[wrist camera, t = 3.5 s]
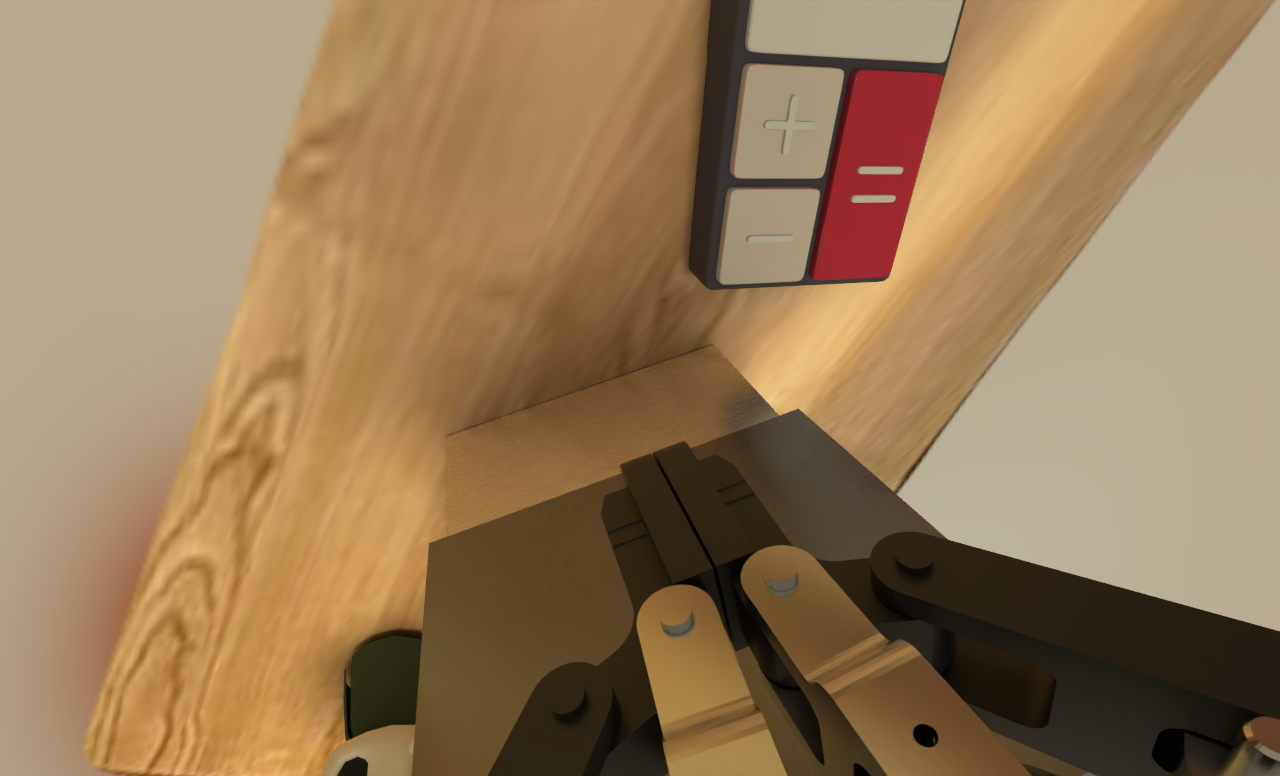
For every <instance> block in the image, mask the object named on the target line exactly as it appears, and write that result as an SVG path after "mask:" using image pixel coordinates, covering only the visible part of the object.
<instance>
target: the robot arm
mask: <svg viewBox="0 0 1280 776" xmlns="http://www.w3.org/2000/svg"><path fill="white" fill-rule="evenodd" d="M619 465H620V470H621V473H622V476H623V479H624V483H625V486H626V488H624V489H621V490H618V491H615V492H613V493H610V494H607V495H605V496H604V501H603V506H602V510H601V517H602V520H603V523H604V526H605V529H606V531H607V534H608V537H609V540H610V543H611V546H612V549H613V551H614V554H615V557H616V560H617V563H618V566H619V569H620V571H621V574H622V577H623V580H624V583H625V586H626V588H627V591H628V594H629V597H630V600H631V603H632V605H633V610H634V619H633V625H632V628H631V631H630V633H629V635H628V637H627V638H626V640H625V641H624V643H623V644H622V645H621V646H620V647H619V648H618V649H617V650H616V651H615V652H614V653H613V654H612V655H610V656H609V657H608V658H607V659H605V660H604V661H603V662H601V663H600V664H599V665H598V666H595V665H593V664H590V663H586V662H572V663H567V664H564V665H561V666H559V667H557V668H555V669H553V670H552V671H551V672H549V673H548V674H547V675H545V676H544V677H543V678H542V679H541V680H540V681H539V683H538V684H537V685H536V687H535V688H534V690H533V691H532V693H531V695H530V697H529V699H528V701H527V703H526V704H525V706H524V708H523V710H522V712H521V714H520V716H519V718H518V719H517V721H516V723H515V725H514V727H513V729H512V731H511V733H510V734H509V736H508V738H507V740H506V742H505V744H504V746H503V748H502V750H501V751H500V753H499V755H498V757H497V759H496V761H495V763H494V765H493V766H492V768H491V770H490V772H489V774H488V776H665V775H666V774H668V773H669V774H670V776H787V774H786V771H785V769H784V766H783V764H782V761H781V759H780V756H779V754H778V751H777V749H776V746H775V744H774V741H773V739H772V736H771V734H770V731H769V729H768V726H767V724H766V722H765V719H764V717H763V715H762V713H761V711H760V709H759V707H756V706H755V704H754V701H753V699H752V697H751V694H750V692H749V689H748V687H747V684H746V681H745V679H744V676H743V674H742V671H741V669H740V666H739V664H738V661H737V659H736V656H735V654H734V651H733V648H732V646H731V643H730V640H731V642H732V644H733V646H734V648H735V650H736V651H739V650H741V649H744V648H746V647H748V646H749V647H750V649H751V651H752V653H753V655H754V657H755V659H756V661H757V662H758V666H759V671H760V676H761V679H762V682H763V684H764V686H765V688H766V690H767V691H768V693H769V695H770V696H771V698H772V700H773V701H774V703H775V704H776V706H777V708H778V709H779V711H780V713H781V714H782V716H783V717H784V719H785V721H786V722H787V724H788V726H789V727H790V729H791V730H792V732H793V734H794V735H795V737H796V739H797V740H798V742H799V743H800V745H801V747H802V748H803V750H804V752H805V753H806V755H807V756H808V758H809V760H810V761H811V763H812V765H813V766H814V768H815V769H816V771H817V773H818V775H819V776H1057V775H1055V774H1053V773H1050V772H1048V771H1045V770H1042V769H1039V768H1036V767H1033V766H1030V765H1027V764H1023V763H1020V762H1019V761H1018V760H1017V759H1016V758H1015V756H1014V755H1013V754H1012V753H1011V752H1010V751H1009V750H1008V749H1007V748H1006V747H1005V745H1004V744H1003V743H1002V742H1001V741H1000V740H999V739H998V738H997V737H996V736H995V735H994V733H993V732H995V733H997V734H1000V735H1002V736H1005V737H1007V738H1009V739H1012V740H1014V741H1016V742H1019V743H1021V744H1023V745H1026V746H1028V747H1030V748H1033V749H1035V750H1037V751H1040V752H1042V753H1045V754H1047V755H1049V756H1052V757H1054V758H1056V759H1059V760H1061V761H1063V762H1066V763H1068V764H1070V765H1073V766H1075V767H1077V768H1080V769H1082V770H1084V771H1087V772H1089V773H1092V774H1094V775H1096V776H1280V631H1276V630H1273V629H1269V628H1265V627H1262V626H1258V625H1254V624H1251V623H1247V622H1244V621H1240V620H1236V619H1233V618H1229V617H1225V616H1222V615H1218V614H1215V613H1211V612H1207V611H1204V610H1200V609H1196V608H1193V607H1189V606H1186V605H1182V604H1178V603H1174V602H1171V601H1167V600H1164V599H1160V598H1157V597H1153V596H1149V595H1146V594H1142V593H1139V592H1135V591H1131V590H1128V589H1124V588H1120V587H1116V586H1113V585H1109V584H1106V583H1102V582H1098V581H1095V580H1091V579H1088V578H1084V577H1080V576H1077V575H1073V574H1070V573H1066V572H1062V571H1059V570H1055V569H1051V568H1048V567H1044V566H1041V565H1037V564H1033V563H1030V562H1026V561H1022V560H1019V559H1015V558H1012V557H1008V556H1005V555H1001V554H997V553H994V552H990V551H986V550H983V549H979V548H976V547H972V546H968V545H965V544H961V543H957V542H954V541H950V540H947V539H943V538H939V537H936V536H932V535H928V534H924V533H920V532H898V533H894V534H891V535H888V536H886V537H884V538H883V539H881V540H880V541H878V543H877V544H876V545H875V546H874V547H873V549H872V552H871V555H870V558H864V559H854V560H844V561H826V560H820V559H816V558H814V557H813V556H812V555H810V554H809V553H807V552H806V551H804V550H802V549H800V548H797V547H794V546H793V545H792V544H791V543H790V541H789V540H788V539H787V537H786V536H785V534H784V533H783V532H782V530H781V529H780V527H779V526H778V525H777V523H776V522H775V520H774V519H773V518H772V516H771V515H770V514H769V512H768V511H767V509H766V508H765V507H764V505H763V504H762V502H761V501H760V500H759V498H758V497H757V496H756V495H755V493H754V491H753V490H752V488H751V487H750V486H749V484H748V483H746V480H745V479H744V477H743V476H742V474H741V473H740V472H739V470H738V469H737V467H736V466H735V465H734V464H733V463H731V462H729V461H727V460H725V459H723V458H722V457H720V456H718V455H716V454H715V455H712V456H709V457H707V458H704V459H701V460H699V461H698V460H697V458H696V457H695V455H694V453H693V452H692V450H691V449H690V447H689V446H688V444H687V443H686V441H682V442H679V443H677V444H674V445H671V446H668V447H666V448H663V449H660V450H657V451H655V452H653V455H652V454H651V453H650V454H647V455H644V456H641V457H639V458H636V459H633V460H630V461H628V462H625V463H622V464H619ZM729 638H730V639H729ZM992 731H993V732H992Z"/></svg>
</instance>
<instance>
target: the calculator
mask: <svg viewBox="0 0 1280 776" xmlns="http://www.w3.org/2000/svg"><path fill="white" fill-rule="evenodd" d="M965 1H966V0H711V10H710V22H709V33H708V47H707V48H708V69H707V79H706V88H705V98H704V108H703V117H702V127H701V137H700V146H699V156H698V166H697V175H696V187H695V198H694V209H693V221H692V232H691V244H690V255H689V269H690V270H691V272H692V273H693V274H694V275H695V276H696V277H697V278H698V279H699V280H700V281H701V282H702V283H703V284H704V285H705V286H706V287H707V288H708V289H711V290H718V289H739V288H759V287H779V286H800V285H820V284H841V283H861V282H880V281H884V280H886V279H887V278H888V277H889V275H890V272H891V269H892V266H893V262H894V258H895V255H896V251H897V247H898V244H899V240H900V237H901V233H902V229H903V226H904V222H905V218H906V215H907V211H908V207H909V204H910V200H911V197H912V193H913V189H914V186H915V182H916V178H917V175H918V171H919V168H920V164H921V160H922V157H923V153H924V149H925V146H926V142H927V138H928V135H929V131H930V128H931V124H932V120H933V117H934V113H935V109H936V106H937V102H938V99H939V95H940V91H941V88H942V84H943V80H944V77H945V73H946V69H947V66H948V62H949V59H950V55H951V51H952V48H953V44H954V40H955V37H956V33H957V30H958V26H959V22H960V19H961V15H962V11H963V8H964V4H965Z"/></svg>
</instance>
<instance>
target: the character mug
mask: <svg viewBox="0 0 1280 776" xmlns="http://www.w3.org/2000/svg"><path fill="white" fill-rule="evenodd" d="M421 644H422V640H420V639H415V638H409V637H403V636H397V635H395V636H391V637H387V638H383V639H379V640H375V641H372V642H370V643H369V644H367V645H366V646H364V647H363V648H361V649H360V650H358V651H357V652H355V653H354V655H353V657H352V672H351V688H350V687H349V686H348V685H347V683H346V670H347V667H346V668H345V670H344V718H345V736H346V742H345V743H343V744H342V745H340V746H339V747H337V748H336V749H334V750H333V752H332V753H331V754H330V755H329V756H328V759H327V761H326V764H325V766H324V769H323V771H322V775H321V776H411V775H412V762H413V749H414V736H415V723H416V710H417V696H418V683H419V670H420V657H421Z"/></svg>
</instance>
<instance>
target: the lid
mask: <svg viewBox="0 0 1280 776" xmlns="http://www.w3.org/2000/svg"><path fill="white" fill-rule="evenodd" d="M690 449H691V450H692V452H693V453H694V455H695V457H696V458H697V460H698V461H699V460H701V459H704V458H707V457H709V456H712V455H715V454H716V455H718V456H720V457H722V458H723V459H725V460H727V461H729V462H731V463H733V464H734V465H735V466H736V467H737V469H738V470H739V472H740V473H741V474H742V476H743V477H744V479H745V480H746V483H748V484H749V486H750V487H751V488H752V490H753V491H754V493H755V495H756V496H757V497H758V498H759V500H760V501H761V502H762V504H763V505H764V507H765V508H766V509H767V511H768V512H769V514H770V515H771V516H772V518H773V519H774V520H775V522H776V523H777V525H778V526H779V527H780V529H781V530H782V532H783V533H784V534H785V536H786V537H787V539H788V540H789V541H790V543H791V544H792V545H793V546H794V547H797V548H800V549H802V550H804V551H806V552H807V553H809V554H810V555H812V556H813V557H814V558H816V559H820V560H826V561H844V560H854V559H864V558H870V555H871V552H872V549H873V547H874V546H875V545H876V544H877V543H878V541H880V540H881V539H883V538H884V537H886V536H888V535H891V534H894V533H898V532H920V533H924V534H928V535H932V536H936V537H939V538H943V539H947V538H945V537H944V536H943V535H942V534H941V533H940V532H939V531H938V530H936V529H935V528H934V527H933V526H932V525H931V524H929V523H928V522H927V521H926V520H925V519H924V518H923V517H922V516H920V515H919V514H918V513H917V512H916V511H914V509H912V508H911V507H910V506H909V505H908V504H907V503H906V502H904V501H903V500H902V499H901V498H900V497H899V496H898V495H896V494H895V493H894V492H893V491H892V490H891V489H890V488H888V487H887V486H886V485H885V484H884V483H883V482H882V481H880V480H879V479H878V478H877V477H876V476H875V475H874V474H872V473H871V472H870V471H869V470H868V469H867V468H866V467H864V466H863V465H862V464H861V463H860V462H859V461H858V460H856V459H855V458H854V457H853V456H852V455H851V454H850V453H848V452H847V451H846V450H845V449H844V448H843V447H842V446H840V445H839V444H838V443H837V442H836V441H835V440H834V439H832V438H831V437H830V436H829V435H828V434H827V433H826V432H824V431H823V430H822V429H821V428H820V427H819V426H818V425H816V424H815V423H814V422H813V421H812V420H811V419H810V418H808V417H807V416H806V415H805V414H804V413H803V412H802V411H800V410H799V409H797V410H794V411H791V412H788V413H786V414H783V415H780V416H777V417H775V418H772V419H769V420H766V421H764V422H761V423H758V424H755V425H753V426H750V427H747V428H745V429H742V430H739V431H736V432H734V433H731V434H728V435H725V436H723V437H720V438H717V439H714V440H712V441H709V442H706V443H703V444H701V445H698V446H695V447H692V448H690ZM624 488H626V486H625V483H624V479H623V476H622V473H621V474H618V475H615V476H613V477H610V478H607V479H604V480H602V481H599V482H596V483H593V484H591V485H588V486H585V487H582V488H580V489H577V490H574V491H571V492H569V493H566V494H563V495H560V496H558V497H555V498H552V499H549V500H547V501H544V502H541V503H538V504H536V505H533V506H530V507H527V508H525V509H522V510H519V511H516V512H514V513H511V514H508V515H505V516H503V517H500V518H497V519H494V520H492V521H489V522H486V523H483V524H481V525H478V526H475V527H472V528H470V529H467V530H464V531H461V532H459V533H456V534H453V535H450V536H448V537H445V538H442V539H439V540H437V541H434V542H431V543H429V552H428V565H427V578H426V592H425V605H424V618H423V631H422V644H421V657H420V670H419V683H418V696H417V710H416V723H415V736H414V749H413V762H412V775H411V776H488V774H489V772H490V770H491V768H492V766H493V765H494V763H495V761H496V759H497V757H498V755H499V753H500V751H501V750H502V748H503V746H504V744H505V742H506V740H507V738H508V736H509V734H510V733H511V731H512V729H513V727H514V725H515V723H516V721H517V719H518V718H519V716H520V714H521V712H522V710H523V708H524V706H525V704H526V703H527V701H528V699H529V697H530V695H531V693H532V691H533V690H534V688H535V687H536V685H537V684H538V683H539V681H540V680H541V679H542V678H543V677H544V676H545V675H547V674H548V673H549V672H551V671H552V670H553V669H555V668H557V667H559V666H561V665H564V664H567V663H572V662H586V663H590V664H593V665H595V666H598V665H599V664H600V663H601V662H603V661H604V660H605V659H607V658H608V657H609V656H610V655H612V654H613V653H614V652H615V651H616V650H617V649H618V648H619V647H620V646H621V645H622V644H623V643H624V641H625V640H626V638H627V637H628V635H629V633H630V631H631V628H632V625H633V619H634V610H633V605H632V603H631V600H630V597H629V594H628V591H627V588H626V586H625V583H624V580H623V577H622V574H621V571H620V569H619V566H618V563H617V560H616V557H615V554H614V551H613V549H612V546H611V543H610V540H609V537H608V534H607V531H606V529H605V526H604V523H603V520H602V517H601V510H602V506H603V501H604V496H605V495H607V494H610V493H613V492H615V491H618V490H621V489H624ZM947 540H948V539H947ZM729 639H730V638H729ZM730 643H731V646H732V648H733V651H734V654H735V656H736V659H737V661H738V664H739V666H740V669H741V671H742V674H743V676H744V679H745V681H746V684H747V687H748V689H749V692H750V694H751V697H752V699H753V701H754V704H755V706H756V707H759V709H760V711H761V713H762V715H763V717H764V719H765V722H766V724H767V726H768V729H769V731H770V734H771V736H772V739H773V741H774V744H775V746H776V749H777V751H778V754H779V756H780V759H781V761H782V764H783V766H784V769H785V771H786V774H787V776H819V775H818V773H817V771H816V769H815V768H814V766H813V765H812V763H811V761H810V760H809V758H808V756H807V755H806V753H805V752H804V750H803V748H802V747H801V745H800V743H799V742H798V740H797V739H796V737H795V735H794V734H793V732H792V730H791V729H790V727H789V726H788V724H787V722H786V721H785V719H784V717H783V716H782V714H781V713H780V711H779V709H778V708H777V706H776V704H775V703H774V701H773V700H772V698H771V696H770V695H769V693H768V691H767V690H766V688H765V686H764V684H763V682H762V679H761V676H760V671H759V666H758V662H757V661H756V659H755V657H754V655H753V653H752V651H751V649H750V647H749V646H748V647H746V648H744V649H741V650H739V651H736V650H735V648H734V646H733V644H732V642H731V640H730ZM992 732H993V731H992ZM993 733H994V735H995V736H996V737H997V738H998V739H999V740H1000V741H1001V742H1002V743H1003V744H1004V745H1005V747H1006V748H1007V749H1008V750H1009V751H1010V752H1011V753H1012V754H1013V755H1014V756H1015V758H1016V759H1017V760H1018V761H1019V762H1020V763H1023V764H1027V765H1030V766H1033V767H1036V768H1039V769H1042V770H1045V771H1048V772H1050V773H1053V774H1055V775H1057V776H1096V775H1094V774H1092V773H1089V772H1087V771H1084V770H1082V769H1080V768H1077V767H1075V766H1073V765H1070V764H1068V763H1066V762H1063V761H1061V760H1059V759H1056V758H1054V757H1052V756H1049V755H1047V754H1045V753H1042V752H1040V751H1037V750H1035V749H1033V748H1030V747H1028V746H1026V745H1023V744H1021V743H1019V742H1016V741H1014V740H1012V739H1009V738H1007V737H1005V736H1002V735H1000V734H997V733H995V732H993ZM665 776H670V774H669V773H668V774H666V775H665Z"/></svg>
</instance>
